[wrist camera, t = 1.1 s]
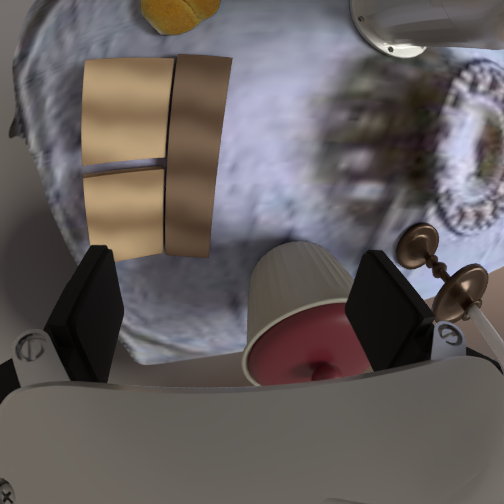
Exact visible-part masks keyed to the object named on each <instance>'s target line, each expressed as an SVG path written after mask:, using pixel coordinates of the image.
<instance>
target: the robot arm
mask: <svg viewBox="0 0 504 504" xmlns="http://www.w3.org/2000/svg"><path fill="white" fill-rule="evenodd" d="M350 12H351V16H352V19H353V21H354V24H355V26H356V28H357V29H358V31H359V32H360V34H361V35H362V36H363V38H364V39H365V40H366V41H367V42H368V43H369V44H370V45H371V46H373V47H374V48H375V49H377V50H378V51H380V52H381V53H383V54H386V55H388V56H391V57H395V58H411V57H415V56H417V55H419V54H421V53H422V52H423V51H424V50H425V49H426V47H463V48H478V49H490V50H502V49H504V0H350ZM358 18H359V19H360V21H359V19H358ZM388 50H389V51H388ZM345 314H346V316H347V318H348V320H349V322H350V324H351V326H352V328H353V330H354V332H355V334H356V336H357V338H358V340H359V342H360V344H361V346H362V348H363V350H364V352H365V354H366V356H367V358H368V360H369V363H370V365H371V367H372V369H373V371H374V372H371V373H365V374H359V375H353V376H347V377H341V378H334V379H327V380H319V381H311V382H302V383H292V384H281V385H269V386H253V387H232V388H230V387H229V388H173V387H149V386H132V385H119V384H108V383H107V381H108V377H109V372H110V368H111V363H112V359H113V355H114V351H115V347H116V343H117V339H118V335H119V331H120V327H121V324H122V320H123V316H124V306H123V301H122V297H121V292H120V287H119V282H118V277H117V272H116V267H115V261H114V255H113V251H112V249H108V247H107V245H91V246H90V248H89V249H88V251H87V252H86V254H85V256H84V257H83V259H82V261H81V262H80V264H79V266H78V267H77V269H76V271H75V273H74V274H73V276H72V278H71V280H70V281H69V282H68V283H67V285H66V287H65V289H64V290H63V292H62V294H61V296H60V298H59V300H58V302H57V304H56V306H55V307H54V309H53V311H52V313H51V315H50V317H49V319H48V321H47V323H46V325H45V328H44V330H38V329H32V330H28V331H25V332H24V333H22V334H21V335H19V336H18V337H17V338H16V340H15V341H14V343H13V345H12V349H11V353H12V358H11V359H9V360H8V361H6V362H4V363H3V364H1V365H0V504H504V376H503V372H502V369H501V367H500V365H499V363H498V362H497V361H495V360H492V359H490V358H489V357H486V356H484V355H482V354H480V353H478V352H476V351H474V350H472V349H470V348H468V347H466V339H465V336H464V334H463V332H462V331H461V330H460V329H459V328H458V327H457V326H456V325H454V324H452V323H450V322H447V321H440V322H438V323H437V324H435V326H434V325H433V323H432V322H433V321H434V319H435V317H436V316H435V315H434V313H433V312H432V311H431V310H430V308H429V307H428V306H427V304H426V303H425V302H424V300H423V299H422V298H421V296H420V295H419V294H418V293H417V291H416V290H415V289H414V288H413V286H412V285H411V284H410V283H409V282H408V280H407V279H406V278H405V277H404V275H403V274H402V273H401V272H400V271H399V269H398V268H397V267H396V266H395V265H394V264H393V262H392V261H391V260H390V259H389V258H388V257H387V255H386V254H385V253H384V252H383V251H381V250H368V251H367V252H366V254H363V256H362V258H361V262H360V265H359V268H358V271H357V274H356V276H355V279H354V282H353V285H352V288H351V291H350V294H349V296H348V299H347V302H346V304H345Z"/></svg>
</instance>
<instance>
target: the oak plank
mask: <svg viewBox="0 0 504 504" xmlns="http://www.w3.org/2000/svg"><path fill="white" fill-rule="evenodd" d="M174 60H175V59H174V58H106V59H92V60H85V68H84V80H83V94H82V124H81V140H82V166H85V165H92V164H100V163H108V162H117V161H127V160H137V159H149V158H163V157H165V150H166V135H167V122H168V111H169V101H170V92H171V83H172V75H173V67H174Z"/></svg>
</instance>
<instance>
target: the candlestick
mask: <svg viewBox="0 0 504 504" xmlns="http://www.w3.org/2000/svg"><path fill="white" fill-rule="evenodd" d="M438 243H439V235H438V232H437V230H436V229H435V228H434V227H433V226H432V225H430V224H428V223H419V224H416V225H414V226H412V227H411V228H410V229H408V230H407V231H406V232H405V233H404V234H403V236H402V237H401V239H400V241H399V243H398V246H397V250H396V257H397V260H398V261H399V263H400V264H401V265H402V266H403V267H404V268H406V269H416V268H419V267H421V266H423V265H424V264H426V266H427V267H428V268H432V273H433V276H434V277H435V278H441V279H442V280H443V281H444V282H445V284H444V285H443V286H442V287H441V289H440V290H439V292H438V293H437V295H436V297H435V299H434V301H433V304H432V309H431V311H432V312H433V313H434V315H435V316H436V317H435V319H434V320H435V321H436V323H438V322H440V321H447V322H450V323H452V324H453V323H455V322H457V321H459V320H460V319H462V320H463V321H466V320H469V319H470V318H471V320H472V321H473V322H474V324H475V325H476V327H477V328H478V329H479V331H480V332H481V334H482V335H483V337H484V338H485V339H486V341H487V342H488V344H489V345H490V347H491V348H492V350H493V351H494V353H495V354H496V356H497V358H498V359H499V361H500V362H501V364H502V365H503V367H504V342H503V340H502V339H501V338H500V336H499V335H498V333H497V332H496V331H495V329H494V328H493V326H492V325H491V324H490V322H489V321H488V320H487V318H486V317H485V316H484V314H483V313H482V312H481V310H480V307H481V305H482V300H481V298H482V296H483V294H484V292H485V290H486V287H487V284H488V273H487V271H486V270H485V269H484V268H483V267H482V266H481V265H480V264H477V263H475V264H470V265H467V266H465V267H463V268H461V269H460V270H458V271H457V272H456V273H455V274H453V275H452V276H451V277H450V276H449V274H448V273H447V272H446V270H447V266H446V264H445V263H442V262H438V257H437V256H436V255H434V254H435V252H436V250H437V247H438Z"/></svg>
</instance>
